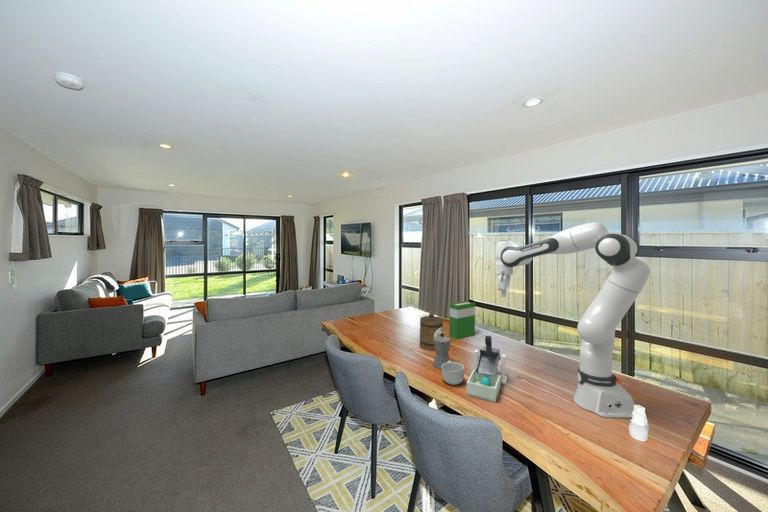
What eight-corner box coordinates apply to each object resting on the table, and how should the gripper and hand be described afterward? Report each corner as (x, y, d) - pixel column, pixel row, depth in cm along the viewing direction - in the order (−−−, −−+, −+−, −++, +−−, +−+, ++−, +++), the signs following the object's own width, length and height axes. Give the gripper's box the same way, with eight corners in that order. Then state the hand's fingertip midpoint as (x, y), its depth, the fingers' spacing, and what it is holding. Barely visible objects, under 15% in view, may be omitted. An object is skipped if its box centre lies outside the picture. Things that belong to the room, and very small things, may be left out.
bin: (500, 387, 137) (500, 375, 137) (495, 402, 125) (495, 388, 124) (473, 381, 143) (473, 369, 143) (466, 395, 131) (466, 382, 130)
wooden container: (441, 351, 181) (441, 316, 180) (417, 349, 186) (417, 315, 185) (444, 343, 195) (444, 311, 194) (422, 341, 200) (422, 309, 199)
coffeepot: (452, 371, 154) (452, 337, 153) (434, 370, 155) (434, 337, 154) (448, 359, 170) (448, 328, 169) (432, 358, 171) (432, 328, 170)
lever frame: (507, 378, 146) (507, 354, 145) (505, 384, 141) (506, 358, 140) (474, 371, 153) (474, 348, 153) (471, 376, 148) (472, 352, 148)
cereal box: (466, 332, 218) (467, 300, 216) (474, 335, 211) (475, 302, 210) (449, 337, 208) (449, 303, 207) (457, 340, 202) (457, 305, 201)
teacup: (464, 388, 137) (464, 371, 136) (441, 386, 139) (441, 369, 138) (462, 374, 150) (462, 359, 150) (441, 373, 152) (441, 358, 152)
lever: (502, 355, 150) (500, 330, 143) (497, 383, 136) (495, 357, 130) (481, 351, 155) (479, 327, 148) (475, 378, 141) (472, 353, 134)
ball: (488, 389, 136) (489, 382, 139) (490, 384, 134) (491, 377, 137) (479, 385, 137) (481, 379, 140) (481, 380, 135) (482, 373, 138)
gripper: (508, 272, 144) (507, 300, 145) (512, 269, 162) (512, 293, 163) (494, 272, 147) (494, 299, 148) (500, 268, 165) (499, 292, 166)
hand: (503, 296), depth 155 cm, fingers closed
